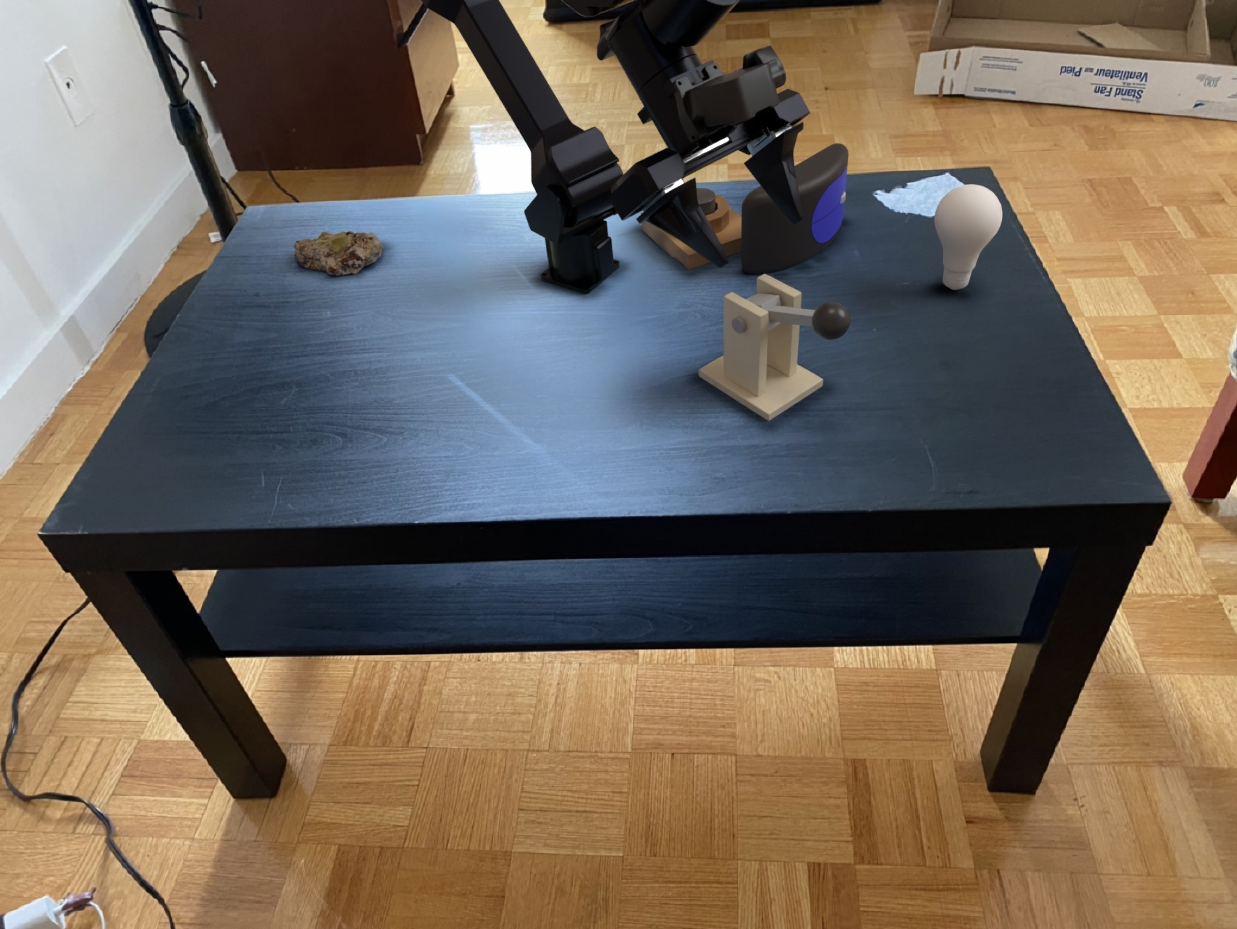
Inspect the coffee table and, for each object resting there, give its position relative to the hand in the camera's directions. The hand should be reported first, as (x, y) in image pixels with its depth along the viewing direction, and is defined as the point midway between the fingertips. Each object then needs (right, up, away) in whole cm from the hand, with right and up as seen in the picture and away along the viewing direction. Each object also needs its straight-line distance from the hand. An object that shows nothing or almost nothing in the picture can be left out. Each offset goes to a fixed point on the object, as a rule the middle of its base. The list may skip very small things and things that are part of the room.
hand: (762, 243), depth 80 cm
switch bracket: (+1, -11, +8) cm, 14 cm away
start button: (-3, +10, +25) cm, 27 cm away
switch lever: (+3, -7, 0) cm, 8 cm away
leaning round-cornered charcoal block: (+7, +5, +25) cm, 27 cm away
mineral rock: (-44, +5, +31) cm, 54 cm away
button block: (-3, +7, +28) cm, 29 cm away
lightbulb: (+22, -1, +17) cm, 28 cm away
